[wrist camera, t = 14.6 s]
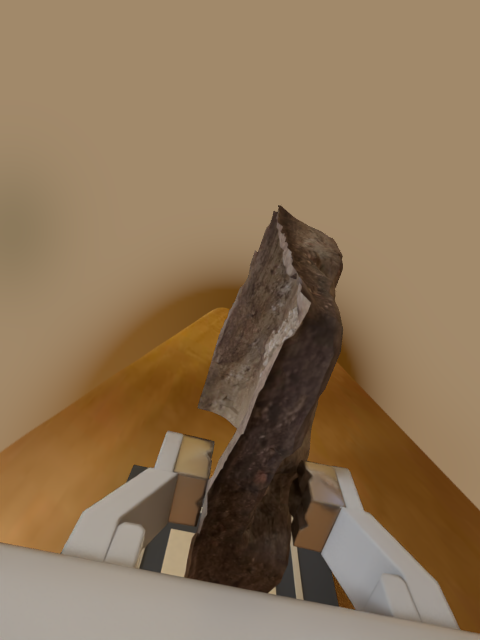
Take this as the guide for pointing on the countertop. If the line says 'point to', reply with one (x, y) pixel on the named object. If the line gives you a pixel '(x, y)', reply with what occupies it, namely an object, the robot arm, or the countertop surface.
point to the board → (297, 582)
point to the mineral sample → (267, 403)
